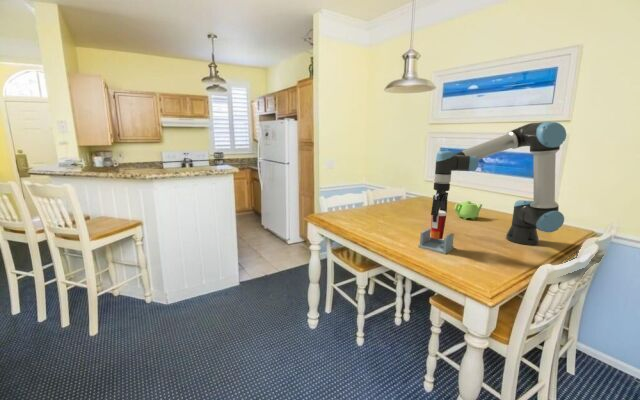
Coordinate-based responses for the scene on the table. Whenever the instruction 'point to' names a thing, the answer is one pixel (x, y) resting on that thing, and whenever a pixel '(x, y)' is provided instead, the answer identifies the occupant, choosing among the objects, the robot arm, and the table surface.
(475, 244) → the table surface
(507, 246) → the table surface
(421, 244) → the holder
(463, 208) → the teapot
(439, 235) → the paper cup
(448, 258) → the table surface
